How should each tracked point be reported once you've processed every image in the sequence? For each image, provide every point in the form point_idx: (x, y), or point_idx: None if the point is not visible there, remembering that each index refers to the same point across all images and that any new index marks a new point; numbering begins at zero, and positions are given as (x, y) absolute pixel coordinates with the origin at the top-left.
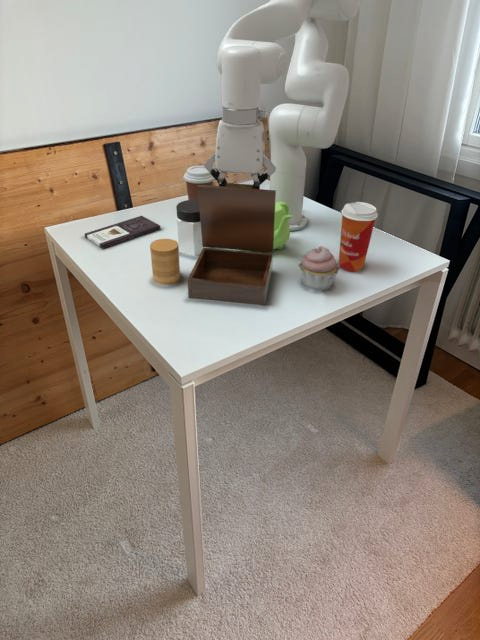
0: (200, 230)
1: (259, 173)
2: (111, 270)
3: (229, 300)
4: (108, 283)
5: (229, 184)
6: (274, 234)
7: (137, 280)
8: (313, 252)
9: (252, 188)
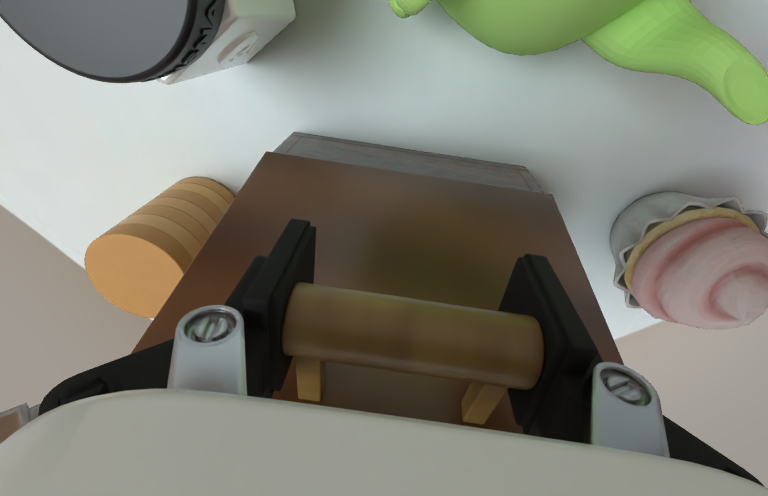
0: (218, 53)
1: (669, 457)
2: (20, 161)
3: None
4: (62, 230)
5: (316, 357)
6: (603, 47)
7: (127, 214)
8: (697, 301)
9: (518, 422)
